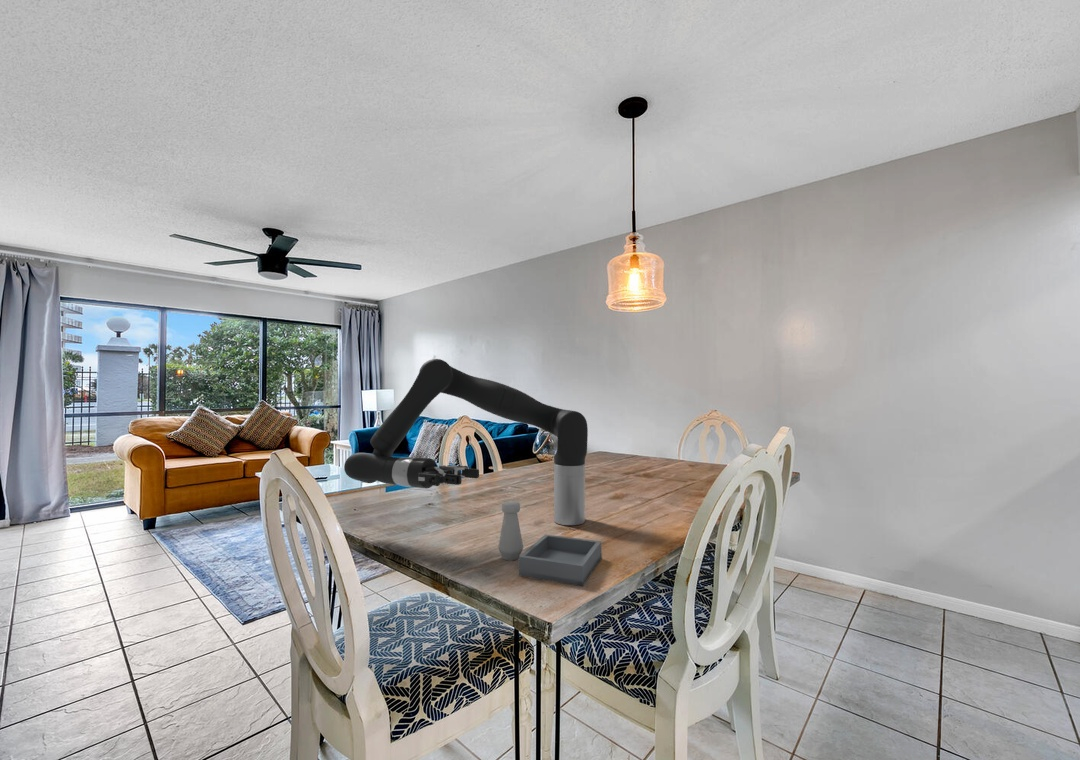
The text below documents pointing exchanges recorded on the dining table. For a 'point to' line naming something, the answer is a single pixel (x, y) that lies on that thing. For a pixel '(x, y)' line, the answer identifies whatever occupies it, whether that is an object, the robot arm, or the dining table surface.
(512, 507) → the salt shaker
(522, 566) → the tray
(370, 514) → the dining table surface
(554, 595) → the dining table surface
